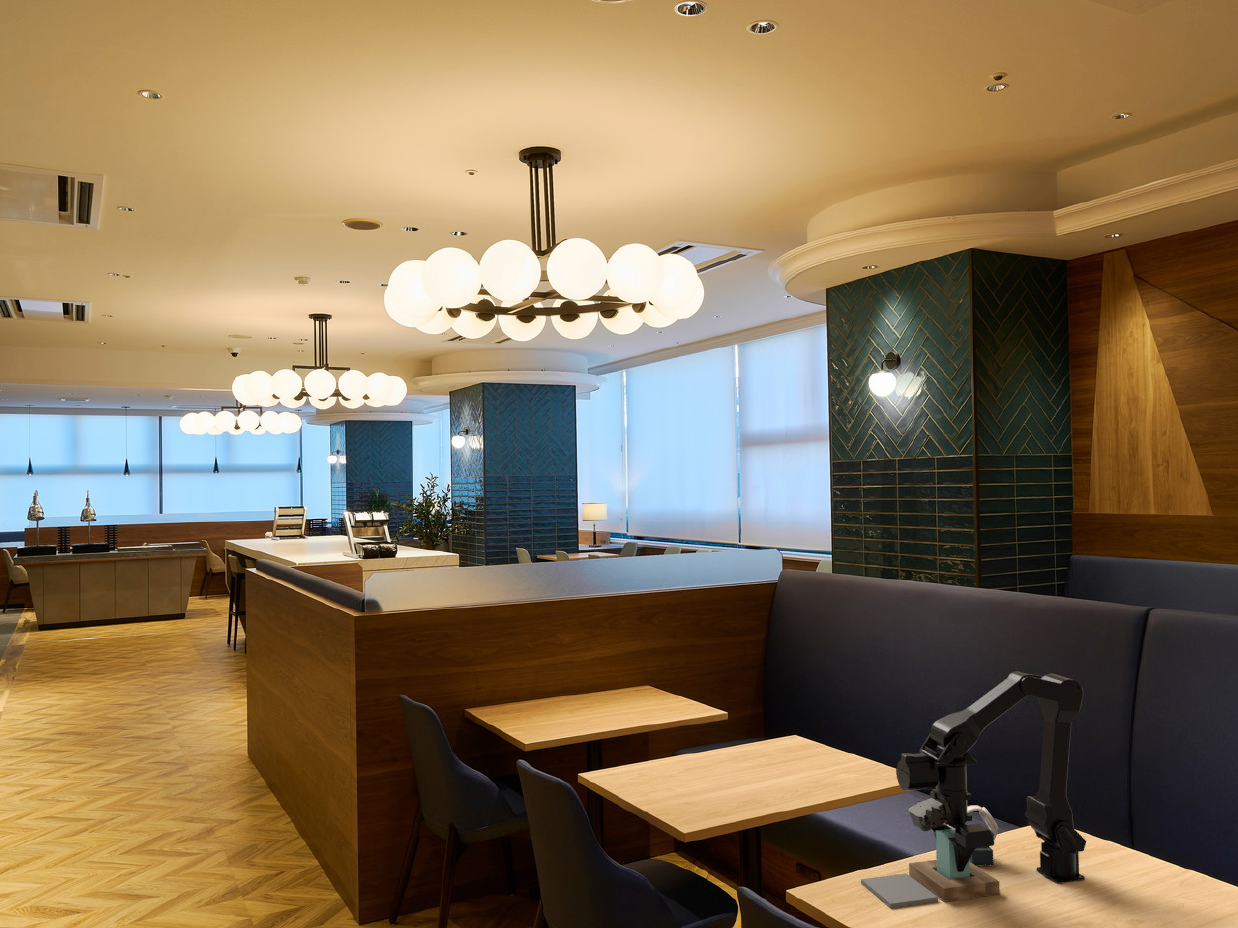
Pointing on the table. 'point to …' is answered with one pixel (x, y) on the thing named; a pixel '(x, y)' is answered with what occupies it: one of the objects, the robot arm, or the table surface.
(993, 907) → the table surface
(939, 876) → the pocket
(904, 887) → the pad
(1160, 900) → the table surface
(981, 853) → the watch
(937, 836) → the peg
